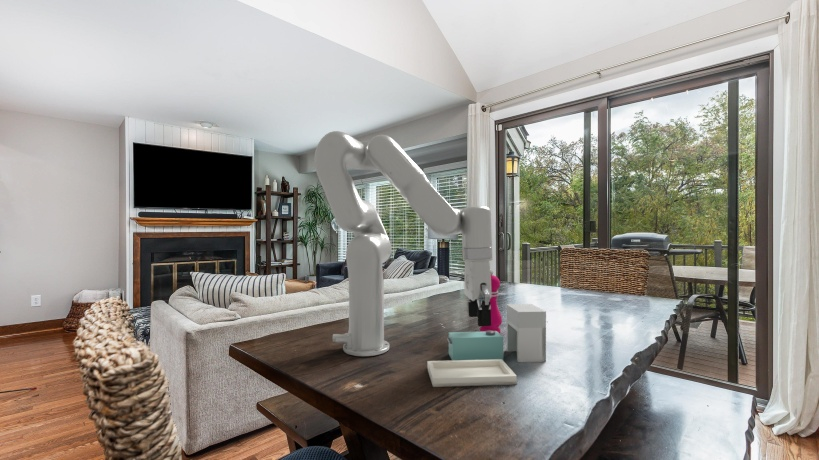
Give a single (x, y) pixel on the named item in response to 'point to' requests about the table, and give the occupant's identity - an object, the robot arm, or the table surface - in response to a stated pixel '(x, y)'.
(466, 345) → the mint rectangular box
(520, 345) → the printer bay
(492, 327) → the pepper mill
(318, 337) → the table surface
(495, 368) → the tray
